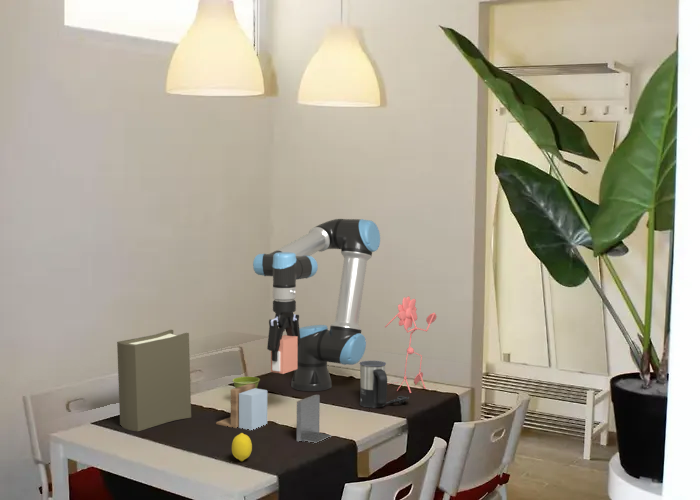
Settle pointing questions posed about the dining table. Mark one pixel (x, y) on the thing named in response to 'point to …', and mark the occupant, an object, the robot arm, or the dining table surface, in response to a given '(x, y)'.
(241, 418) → the blue block
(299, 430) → the bookend
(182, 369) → the book
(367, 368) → the milk frother
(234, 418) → the shelf end
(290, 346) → the red block
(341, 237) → the robot arm
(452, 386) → the dining table surface
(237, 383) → the plant pot
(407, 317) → the pink daisy dancer statuette
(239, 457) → the lemon
